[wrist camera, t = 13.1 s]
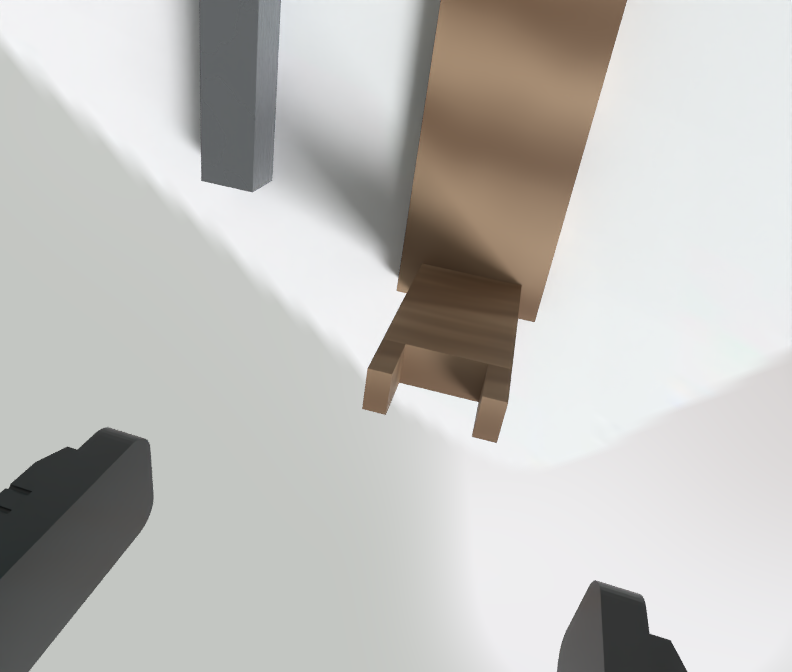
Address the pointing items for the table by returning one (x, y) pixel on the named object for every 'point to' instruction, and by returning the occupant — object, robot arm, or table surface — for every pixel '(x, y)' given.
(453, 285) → the walnut stand
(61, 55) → the table surface
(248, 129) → the steel bar
